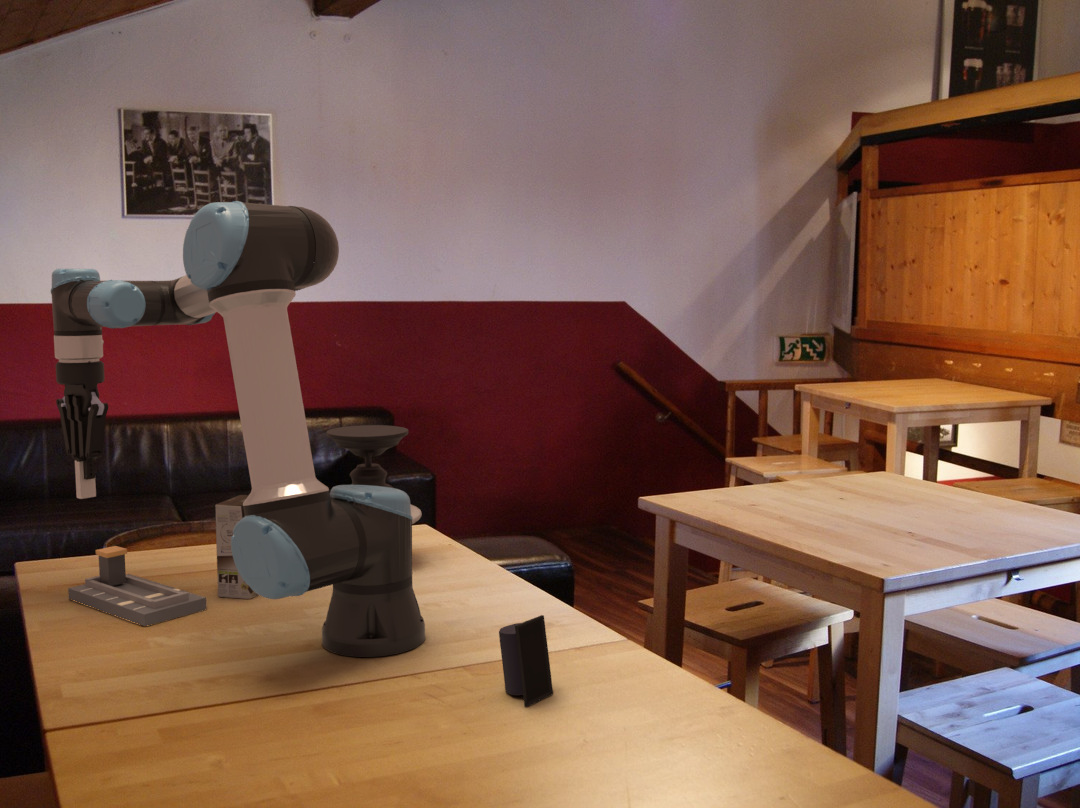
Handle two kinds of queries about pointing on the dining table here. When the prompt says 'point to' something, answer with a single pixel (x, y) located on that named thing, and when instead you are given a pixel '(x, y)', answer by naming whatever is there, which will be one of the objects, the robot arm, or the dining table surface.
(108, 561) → the fader tab
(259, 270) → the robot arm
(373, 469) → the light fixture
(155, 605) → the console board
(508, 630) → the speaker
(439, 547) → the dining table surface
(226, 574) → the coffee box
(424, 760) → the dining table surface
